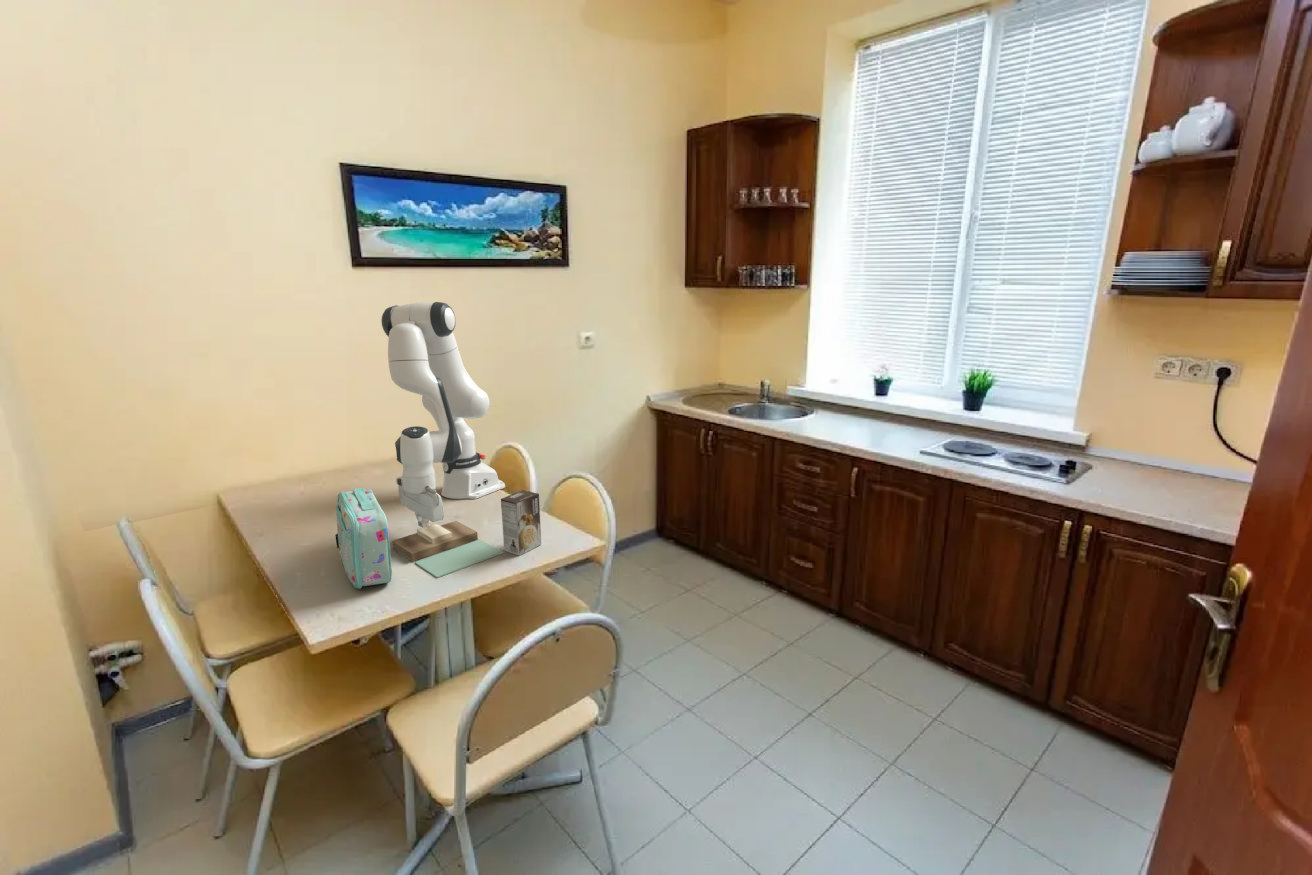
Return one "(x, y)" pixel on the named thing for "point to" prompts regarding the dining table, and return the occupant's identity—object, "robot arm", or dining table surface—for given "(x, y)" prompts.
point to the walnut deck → (422, 548)
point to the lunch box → (363, 538)
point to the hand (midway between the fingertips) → (423, 526)
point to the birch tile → (434, 533)
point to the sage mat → (458, 558)
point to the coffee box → (521, 522)
